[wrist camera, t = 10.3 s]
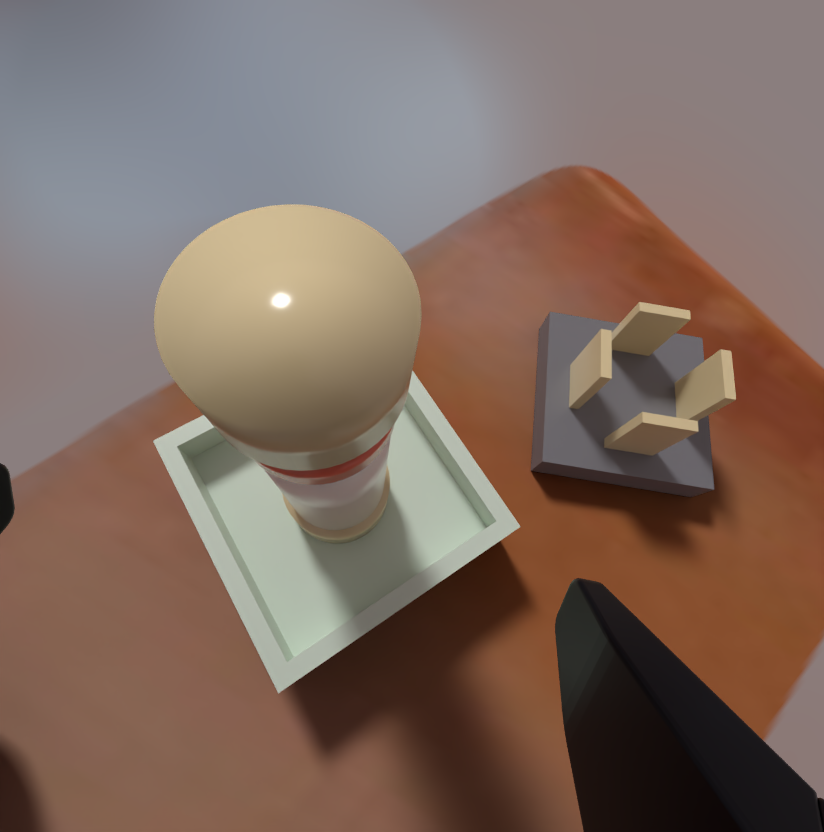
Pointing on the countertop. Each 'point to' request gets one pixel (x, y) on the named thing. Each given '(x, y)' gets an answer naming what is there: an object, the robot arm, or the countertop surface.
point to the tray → (328, 562)
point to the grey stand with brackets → (628, 401)
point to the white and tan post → (297, 353)
